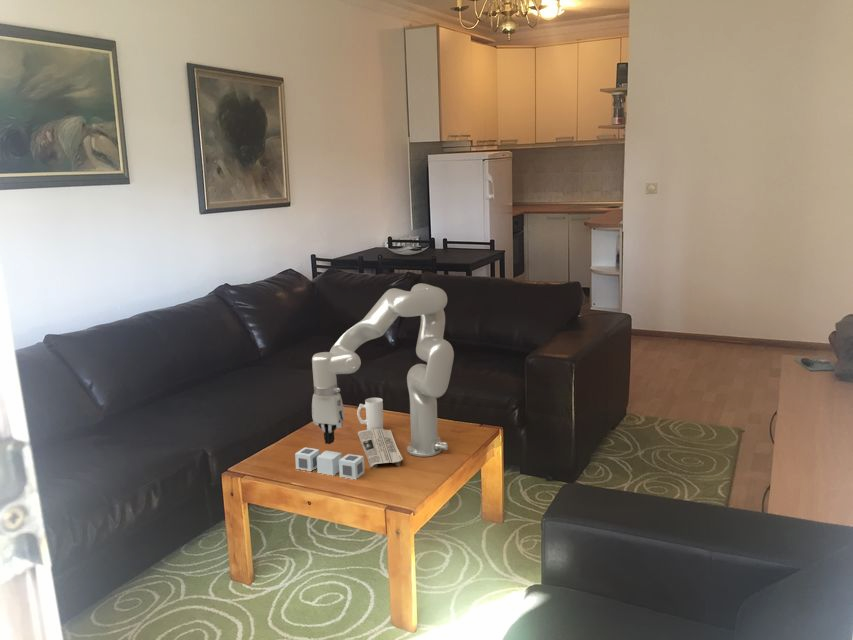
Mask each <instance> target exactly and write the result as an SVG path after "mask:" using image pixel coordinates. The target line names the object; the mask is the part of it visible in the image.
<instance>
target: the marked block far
mask: <svg viewBox="0 0 853 640" xmlns="http://www.w3.org/2000/svg"><path fill="white" fill-rule="evenodd" d="M320 454H321V450H320V449H317V448H311V447H306V446H305V447H303V448H301V449H300V450H298V451H297V452H295V454H294V459H295V470H296V469H301V470H307V471H312V470H314V469H316V468H317V456H319V455H320ZM316 470H317V469H316ZM314 471H315V470H314Z"/></svg>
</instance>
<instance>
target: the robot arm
mask: <svg viewBox="0 0 853 640" xmlns="http://www.w3.org/2000/svg"><path fill="white" fill-rule="evenodd" d="M447 304H448V296H447V293H446V292H445V290H444V289H443V288H440V287H438V286H435V285H434V286H433V285H432V284H428V283H417V284H416V283H415V285H413V286H412V287H411V289H410V291H409V290H403V289H401V288H396V287H395V288H394V287H393V288H389V289H388V290H386V291H385V292H384V294H382V296H381V297H380V298H379V299H378V300H377V302H376V303H375V304H374V305H373V306H372V308H371V309H370V310H369V311H368V313H367V314H366V315H365V316H364V318H363V319H361V320H360V321H358V322H357V323H355V324H354V325H353V326H352V327H350V328H349V329H346V331H345V332H344V333H342V335H341V336H339V338H338V339H337V340H336V342H335V343H334V344H333V345H332V346H331V348H330V350H329V351H323V352H316V353H314V354H313V356H312V358H311V364H312V365H311V366H312V377H313V378H312V379H313V392H314V393H313V394H312V401H311V416H312V421H313V424H314V425H315V426H318V427H319V428H320V429H321V432H322V433H323V439H324V444H326V445H331V444H333V443H334V442H335V430H336V429H341V428H342V427H344V423H343V421H345V411H344V409H345V408H344V403H343V399H342V396H341V393H340V392H341V388H340V387H338V382H337V381H338V380H337V375H350V374H353V373H356V372H357V371H358V370H359V369H360V367H361V364H362V363H361V362H362V360H361V358H360V356H359V355H358V354H357V353H356V352H355V351H356V350H357V349H358V348H359V347H360V346H362V345H363V344H365V343H366V342H368V341H371V340H375V339H377V338H380V337H382V336H384V334H385V333H386V332H387V331H388V329H389V328H390V326H392V324H394V322H395V321H396V320H397V318H398V317H404V318H410V317H418V316H420V326H419V331H418V335H417V336H418V337H417V341H416V347H415V353H416V356H417V358H419V359H420V360H422V361H423V362H426V364H424V363H416V364H415V365H413V366H411V367H410V369H409V370H408V372H407V375H406V383H407V385H406V386H407V389H408V395H409V414H410V415H409V417H410V418H409V419H410V443H409V445H407V447H406V451H407V454H410V455H411V456H415V457H423V458H424V457H432V456H436V455H438V454H441V452H442V451H443V450H444V451H447V450H449V445H448V442H445V441H442V440H441V437H439V436H438V434H439V433H438V402H437V399H438V398H440V397H442V396H444V394H445V393H446V392H447V389H448V388H449V387H448V386H449V384H450V379H451V374H452V368H453V364H454V358H455V352H454V348H453V346H452V344H451V343H450V342H449V341H447V340H446V339H444V335H445V334H444V332H445V328H446V327H445V326H446V313H445V311H444V309H445V308H446V306H447Z"/></svg>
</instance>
